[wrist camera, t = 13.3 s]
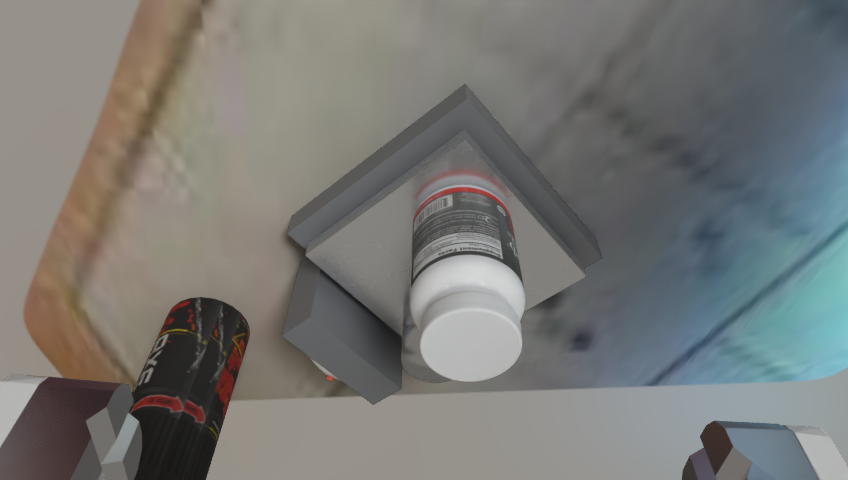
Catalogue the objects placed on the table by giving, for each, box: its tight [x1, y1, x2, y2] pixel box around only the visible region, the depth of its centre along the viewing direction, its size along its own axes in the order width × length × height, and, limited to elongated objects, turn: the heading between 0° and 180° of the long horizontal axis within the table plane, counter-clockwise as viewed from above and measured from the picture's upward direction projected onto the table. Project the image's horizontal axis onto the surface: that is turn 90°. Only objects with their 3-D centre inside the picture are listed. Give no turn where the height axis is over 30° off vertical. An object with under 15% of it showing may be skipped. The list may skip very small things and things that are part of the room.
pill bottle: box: [409, 185, 525, 382], centre depth 34 cm, size 6×6×10 cm
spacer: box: [401, 300, 452, 383], centre depth 41 cm, size 4×4×4 cm
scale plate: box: [305, 130, 586, 337], centre depth 40 cm, size 12×12×1 cm
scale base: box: [282, 84, 602, 405], centre depth 41 cm, size 17×14×7 cm
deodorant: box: [128, 297, 250, 480], centre depth 43 cm, size 6×6×15 cm
